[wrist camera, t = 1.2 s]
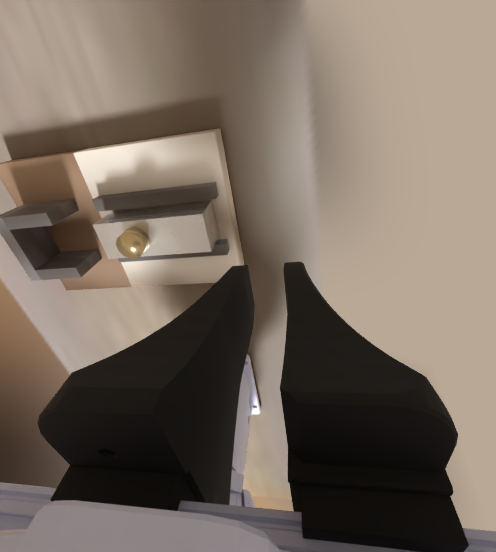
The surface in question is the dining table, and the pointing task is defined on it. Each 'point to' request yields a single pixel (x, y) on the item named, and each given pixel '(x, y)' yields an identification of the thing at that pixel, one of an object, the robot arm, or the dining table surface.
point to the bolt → (158, 231)
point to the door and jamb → (116, 197)
